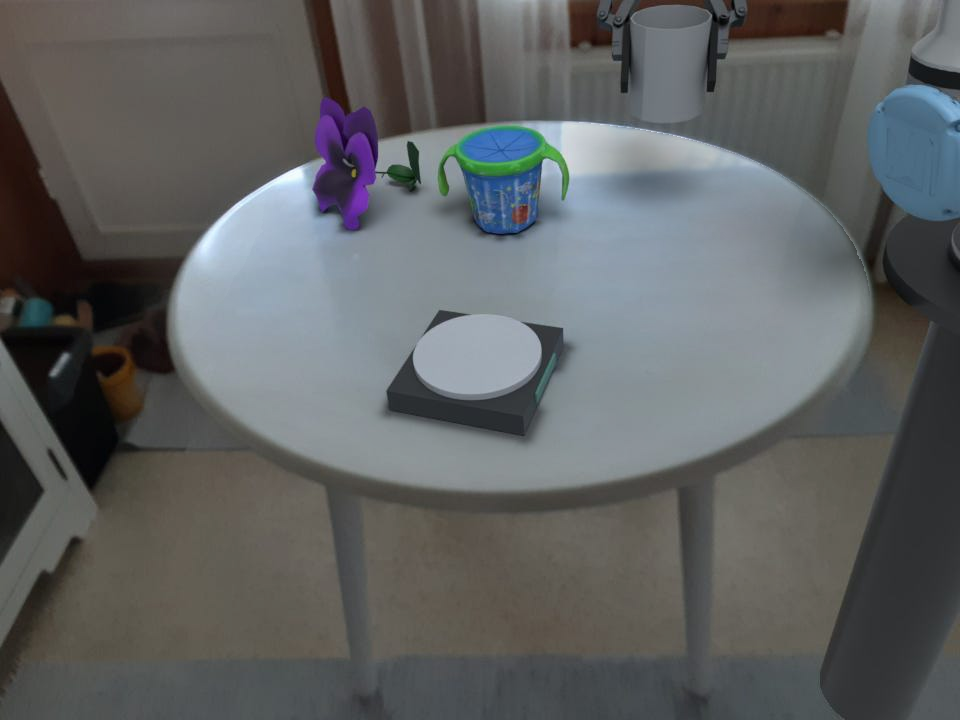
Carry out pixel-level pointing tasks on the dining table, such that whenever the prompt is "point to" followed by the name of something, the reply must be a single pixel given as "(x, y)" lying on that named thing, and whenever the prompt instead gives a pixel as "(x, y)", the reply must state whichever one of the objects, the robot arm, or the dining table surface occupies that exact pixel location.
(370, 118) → the flower
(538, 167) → the snack cup
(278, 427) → the dining table surface
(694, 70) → the cup
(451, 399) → the scale
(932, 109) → the robot arm
